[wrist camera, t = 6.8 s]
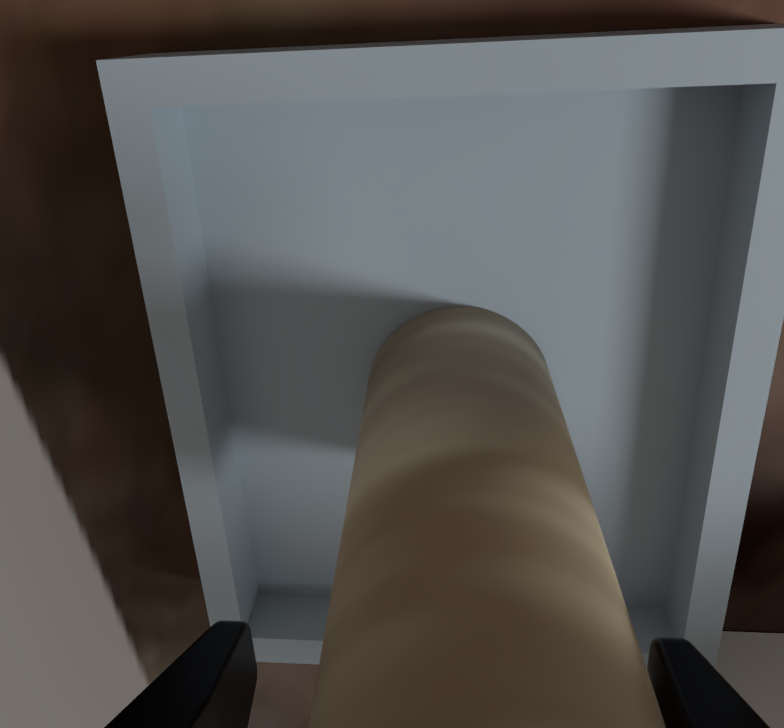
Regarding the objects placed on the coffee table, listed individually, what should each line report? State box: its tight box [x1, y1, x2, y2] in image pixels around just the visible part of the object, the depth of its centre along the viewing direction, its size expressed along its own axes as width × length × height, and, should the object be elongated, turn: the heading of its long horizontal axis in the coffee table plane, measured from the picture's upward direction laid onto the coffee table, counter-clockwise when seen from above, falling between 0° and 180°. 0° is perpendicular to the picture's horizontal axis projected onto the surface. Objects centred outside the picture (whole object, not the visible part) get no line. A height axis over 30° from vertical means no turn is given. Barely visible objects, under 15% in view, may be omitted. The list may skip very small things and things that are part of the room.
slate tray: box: [96, 23, 784, 668], centre depth 16 cm, size 12×14×2 cm
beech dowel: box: [308, 307, 666, 728], centre depth 11 cm, size 4×4×11 cm
